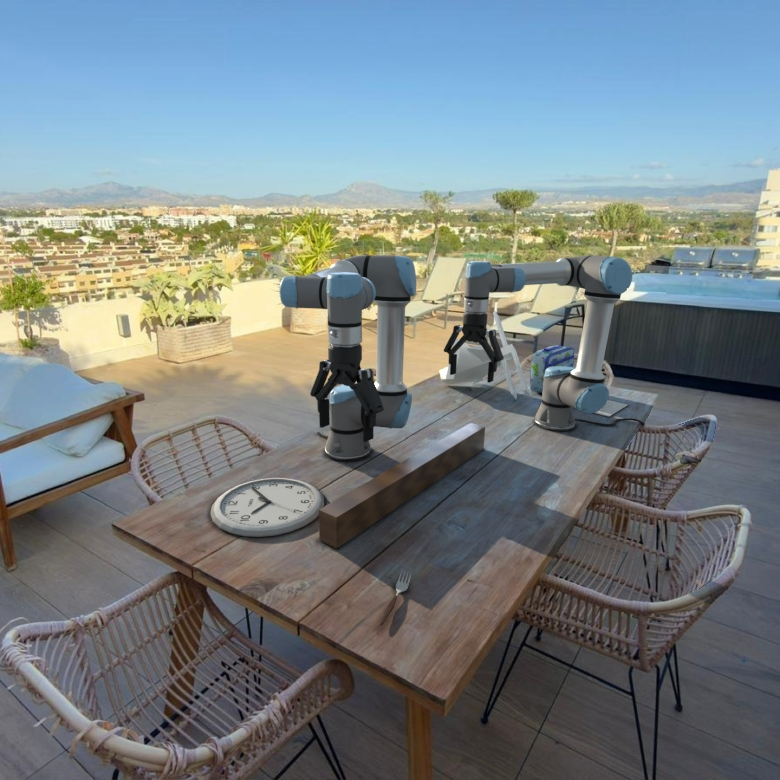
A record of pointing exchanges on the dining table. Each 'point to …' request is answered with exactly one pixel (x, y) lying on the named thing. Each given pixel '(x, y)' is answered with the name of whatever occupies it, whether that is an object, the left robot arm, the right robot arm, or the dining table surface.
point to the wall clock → (267, 507)
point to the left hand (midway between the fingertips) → (345, 432)
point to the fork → (400, 588)
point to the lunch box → (548, 363)
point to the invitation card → (611, 408)
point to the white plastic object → (483, 363)
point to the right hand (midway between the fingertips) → (471, 377)
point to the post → (396, 486)
